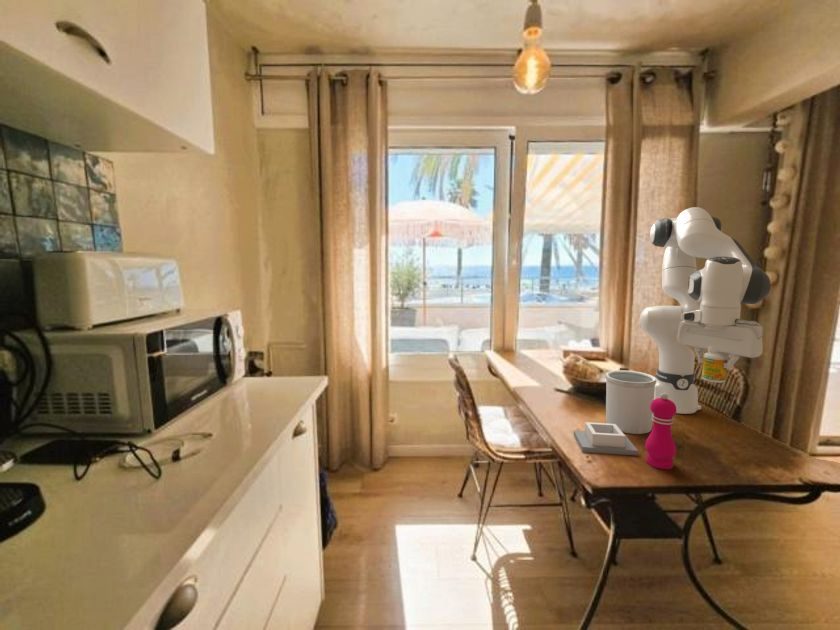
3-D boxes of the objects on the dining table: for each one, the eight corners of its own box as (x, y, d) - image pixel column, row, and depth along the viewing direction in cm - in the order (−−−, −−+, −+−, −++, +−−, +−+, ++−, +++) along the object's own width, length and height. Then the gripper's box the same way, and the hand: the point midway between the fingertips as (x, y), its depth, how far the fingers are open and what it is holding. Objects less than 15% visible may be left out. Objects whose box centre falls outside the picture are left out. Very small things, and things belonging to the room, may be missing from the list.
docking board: (573, 434, 125) (574, 419, 125) (623, 437, 123) (624, 422, 122) (582, 451, 114) (582, 435, 113) (637, 455, 111) (638, 438, 111)
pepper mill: (663, 457, 110) (668, 388, 108) (681, 470, 103) (687, 397, 101) (638, 457, 110) (642, 389, 108) (654, 470, 103) (659, 397, 100)
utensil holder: (626, 437, 123) (629, 384, 121) (594, 420, 137) (596, 371, 135) (664, 432, 127) (667, 379, 125) (628, 415, 141) (631, 368, 139)
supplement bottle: (699, 380, 108) (702, 346, 107) (703, 376, 112) (706, 343, 111) (724, 384, 104) (727, 348, 103) (727, 380, 108) (730, 345, 107)
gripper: (771, 321, 97) (766, 374, 99) (690, 312, 116) (687, 357, 118) (755, 322, 95) (749, 377, 97) (675, 313, 114) (672, 359, 116)
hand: (714, 366), depth 108 cm, fingers closed on supplement bottle, 5 cm apart
